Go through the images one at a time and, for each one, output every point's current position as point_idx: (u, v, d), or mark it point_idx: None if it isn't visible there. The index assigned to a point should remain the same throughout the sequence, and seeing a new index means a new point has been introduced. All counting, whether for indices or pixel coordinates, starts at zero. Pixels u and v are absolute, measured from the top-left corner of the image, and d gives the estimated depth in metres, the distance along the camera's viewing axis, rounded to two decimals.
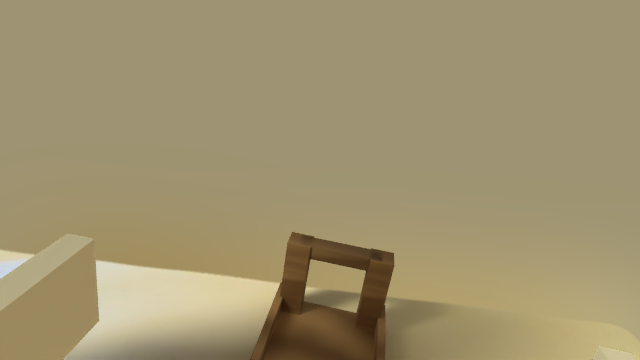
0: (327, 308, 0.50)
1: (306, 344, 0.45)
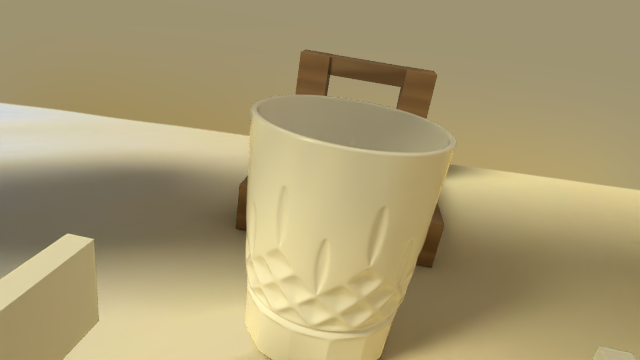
0: None
1: None
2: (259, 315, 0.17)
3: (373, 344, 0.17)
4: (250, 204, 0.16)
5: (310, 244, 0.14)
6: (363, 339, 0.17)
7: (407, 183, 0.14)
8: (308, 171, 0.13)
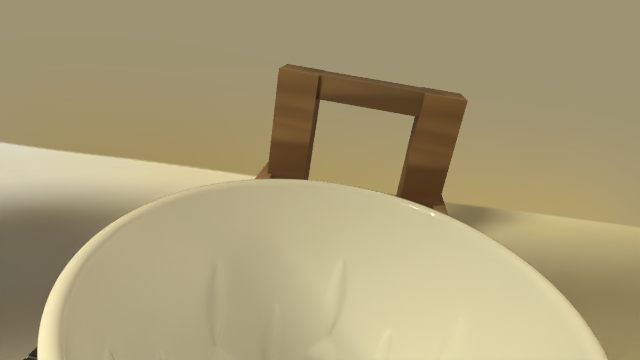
0: None
1: None
2: None
3: None
4: None
5: None
6: None
7: None
8: None
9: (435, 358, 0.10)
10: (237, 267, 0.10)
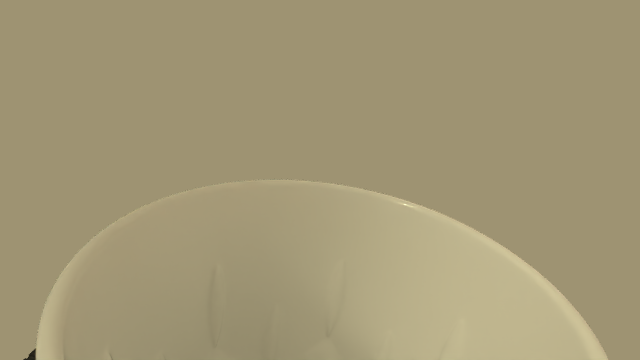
0: None
1: None
2: None
3: None
4: None
5: None
6: None
7: None
8: None
9: (435, 359, 0.10)
10: (237, 268, 0.10)
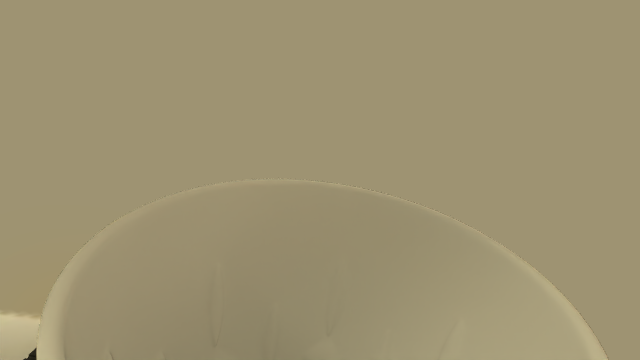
0: None
1: None
2: None
3: None
4: None
5: None
6: None
7: None
8: None
9: (435, 358, 0.10)
10: (237, 267, 0.10)
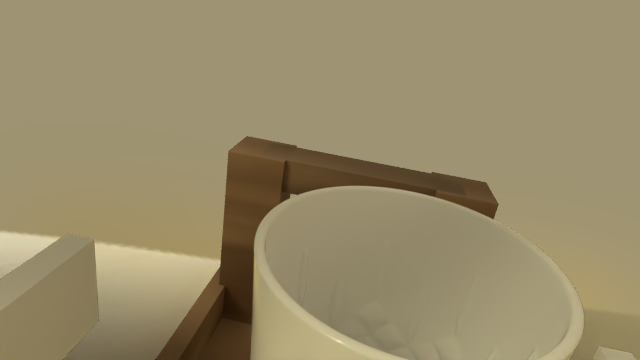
0: None
1: None
2: None
3: None
4: None
5: None
6: None
7: None
8: None
9: (458, 306, 0.14)
10: (316, 251, 0.14)
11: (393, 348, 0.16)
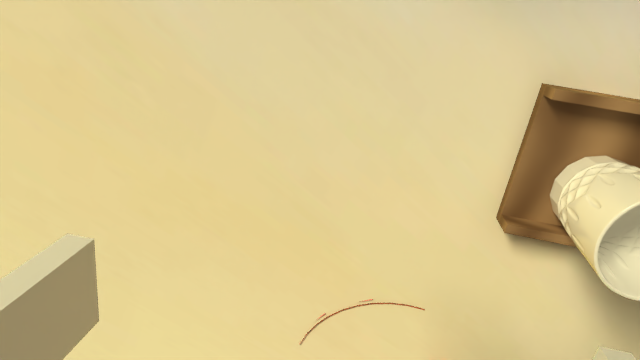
0: None
1: None
2: (577, 171, 0.34)
3: None
4: (617, 181, 0.30)
5: (579, 211, 0.31)
6: (559, 219, 0.36)
7: (591, 264, 0.29)
8: (597, 222, 0.28)
9: None
10: None
11: None
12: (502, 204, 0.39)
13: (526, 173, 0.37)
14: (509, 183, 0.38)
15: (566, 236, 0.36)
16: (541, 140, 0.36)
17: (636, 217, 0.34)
